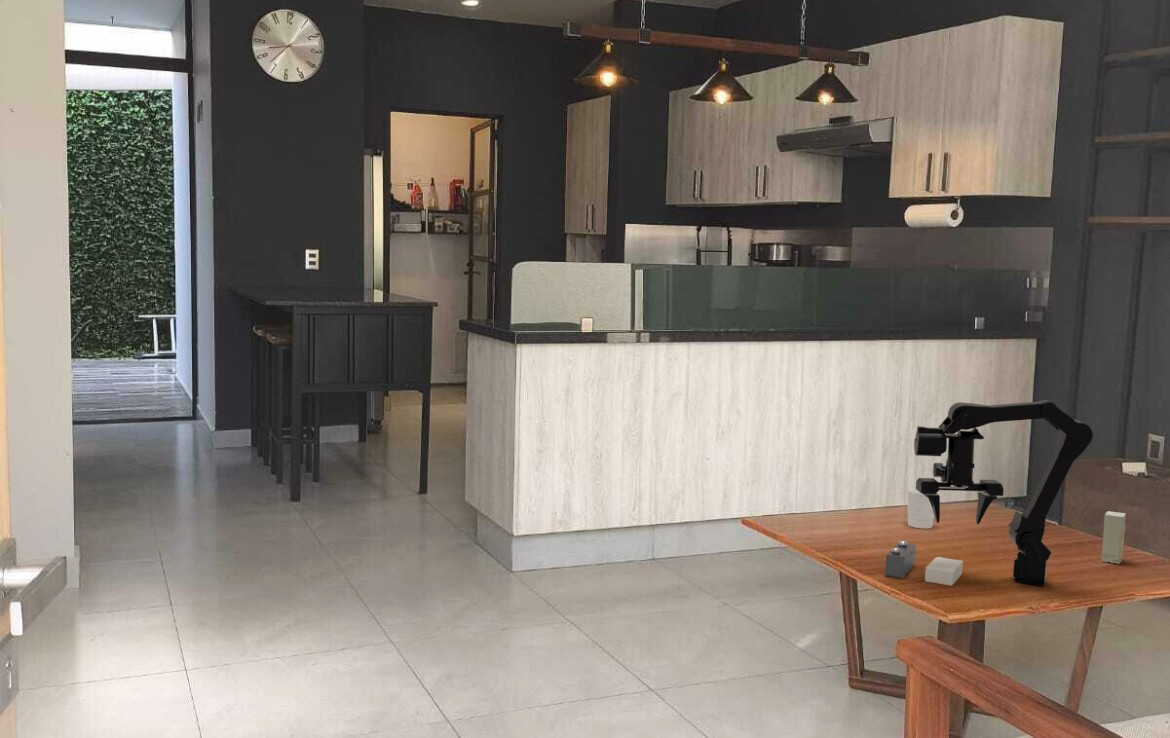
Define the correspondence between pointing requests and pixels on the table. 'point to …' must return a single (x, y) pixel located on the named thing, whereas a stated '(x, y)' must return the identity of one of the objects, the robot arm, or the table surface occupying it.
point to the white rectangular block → (943, 571)
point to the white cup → (919, 510)
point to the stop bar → (900, 560)
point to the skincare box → (1113, 537)
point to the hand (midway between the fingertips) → (957, 523)
